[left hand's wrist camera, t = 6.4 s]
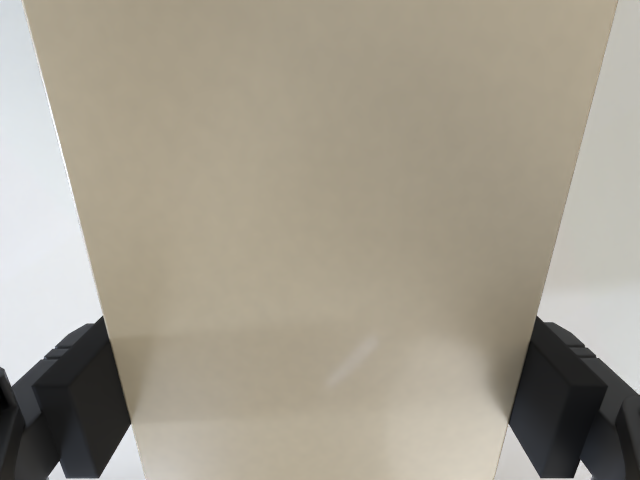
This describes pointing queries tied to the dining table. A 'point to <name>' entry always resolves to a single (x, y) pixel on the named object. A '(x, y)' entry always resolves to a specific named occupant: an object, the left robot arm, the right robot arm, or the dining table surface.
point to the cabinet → (319, 218)
